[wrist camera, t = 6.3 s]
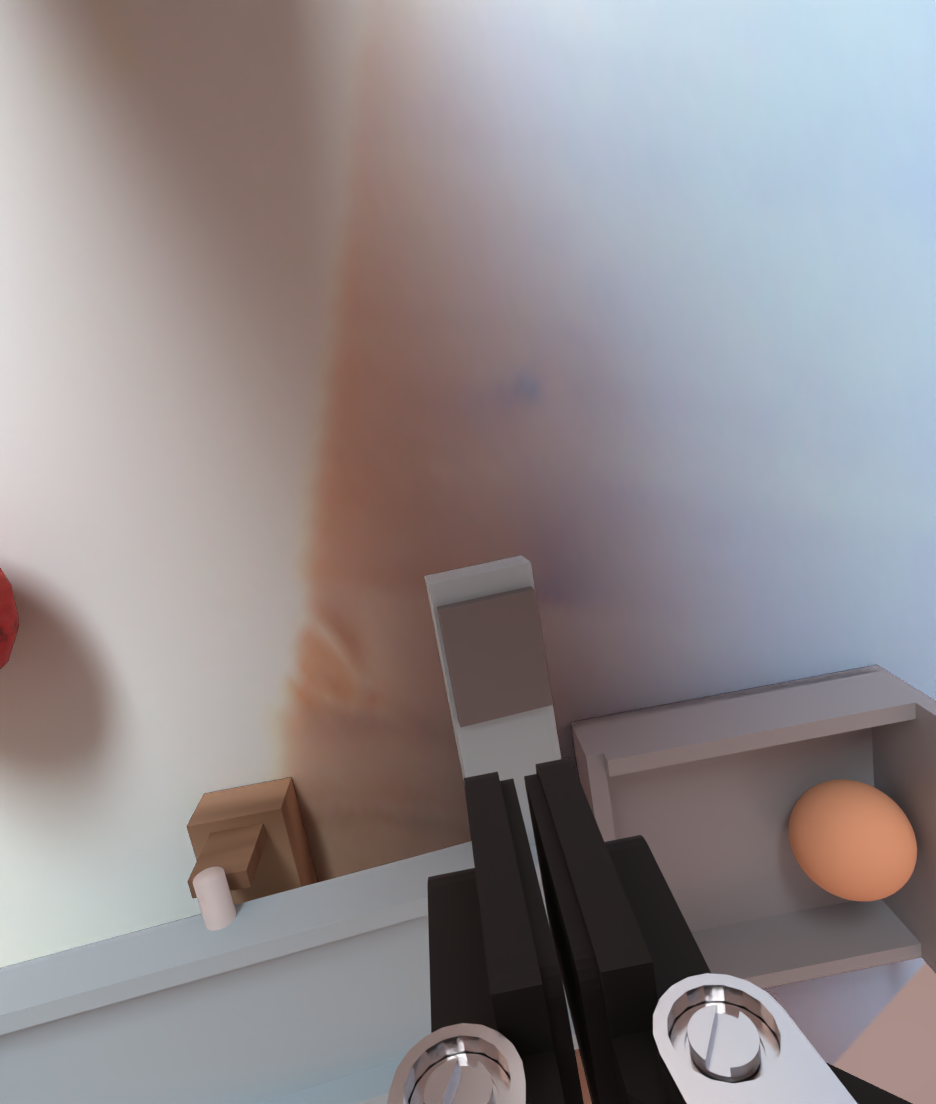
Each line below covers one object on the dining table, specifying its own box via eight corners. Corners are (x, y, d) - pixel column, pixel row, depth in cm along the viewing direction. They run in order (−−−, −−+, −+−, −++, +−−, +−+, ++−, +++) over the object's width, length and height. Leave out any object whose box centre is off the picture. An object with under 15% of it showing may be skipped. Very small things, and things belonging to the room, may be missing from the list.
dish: (570, 722, 26) (596, 780, 23) (877, 664, 27) (955, 712, 23) (604, 952, 29) (633, 1040, 25) (885, 897, 29) (957, 976, 25)
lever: (-299, 730, 19) (-463, 816, 15) (521, 554, 22) (562, 588, 18) (-67, 1232, 23) (-148, 1402, 19) (595, 1024, 26) (642, 1134, 22)
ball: (871, 841, 22) (940, 787, 24) (761, 789, 26) (829, 746, 28) (875, 948, 23) (942, 888, 25) (768, 885, 27) (834, 836, 29)
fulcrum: (204, 793, 26) (161, 874, 22) (291, 777, 26) (266, 854, 22) (267, 1016, 29) (240, 1128, 24) (347, 1000, 29) (335, 1110, 24)
